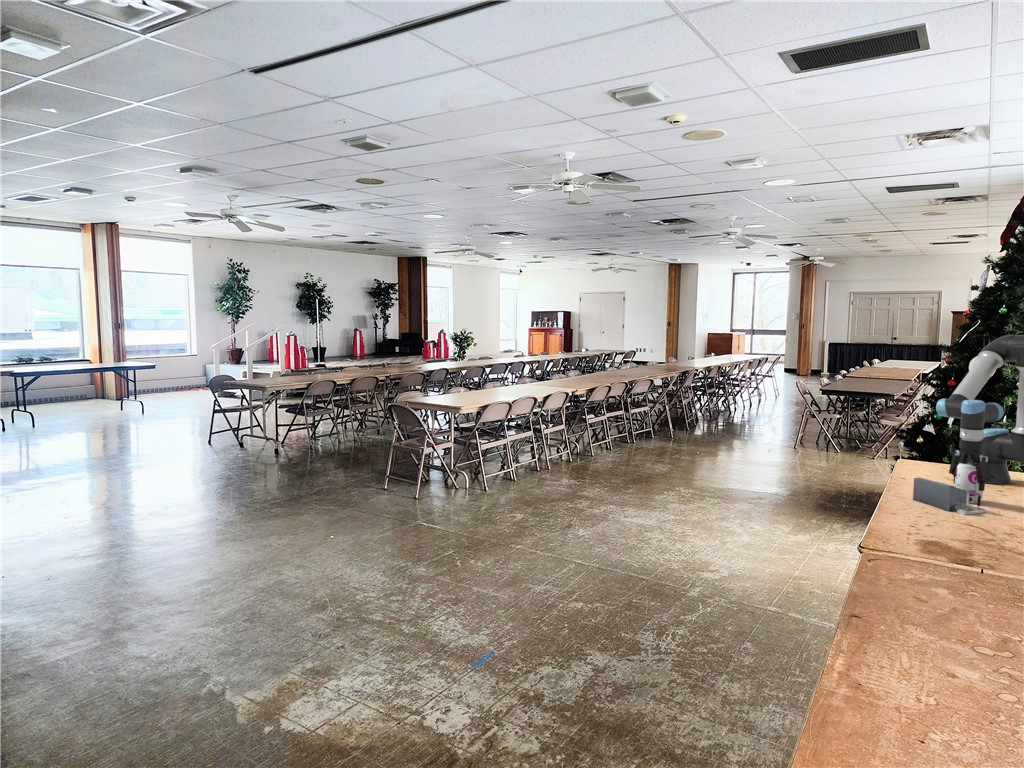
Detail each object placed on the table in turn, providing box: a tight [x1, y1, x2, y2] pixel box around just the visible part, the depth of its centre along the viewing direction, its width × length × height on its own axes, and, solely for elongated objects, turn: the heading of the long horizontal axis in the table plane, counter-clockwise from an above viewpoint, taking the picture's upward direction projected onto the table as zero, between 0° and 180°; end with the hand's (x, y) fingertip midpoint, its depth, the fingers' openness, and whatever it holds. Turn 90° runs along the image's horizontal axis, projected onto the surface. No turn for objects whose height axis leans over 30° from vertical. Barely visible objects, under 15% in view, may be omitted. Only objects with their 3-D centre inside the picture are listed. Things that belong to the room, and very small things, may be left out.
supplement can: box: [956, 462, 982, 504], centre depth 254 cm, size 8×8×15 cm
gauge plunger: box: [934, 480, 982, 508], centre depth 250 cm, size 1×19×6 cm, turn 15°
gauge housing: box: [912, 477, 986, 516], centre depth 249 cm, size 12×21×9 cm, turn 15°
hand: (968, 495), depth 255 cm, fingers closed on supplement can, 8 cm apart
